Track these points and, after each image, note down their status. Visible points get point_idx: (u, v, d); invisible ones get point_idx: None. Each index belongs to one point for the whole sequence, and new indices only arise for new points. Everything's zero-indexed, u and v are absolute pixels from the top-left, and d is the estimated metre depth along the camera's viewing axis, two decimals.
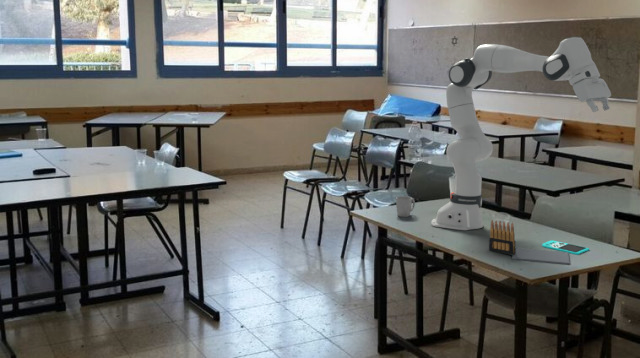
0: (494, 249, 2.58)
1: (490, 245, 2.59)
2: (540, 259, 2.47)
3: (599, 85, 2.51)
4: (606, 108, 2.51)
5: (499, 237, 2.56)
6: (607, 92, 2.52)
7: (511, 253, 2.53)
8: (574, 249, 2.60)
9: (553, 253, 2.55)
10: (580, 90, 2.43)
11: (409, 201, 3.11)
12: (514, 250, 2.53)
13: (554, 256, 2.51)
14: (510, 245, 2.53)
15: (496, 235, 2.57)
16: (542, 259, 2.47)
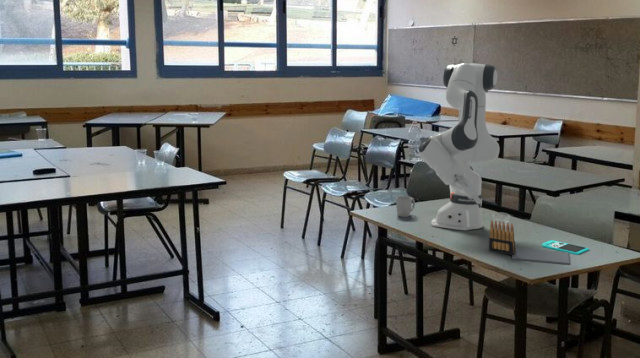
0: (494, 249, 2.58)
1: (490, 245, 2.59)
2: (540, 259, 2.47)
3: (459, 186, 2.48)
4: None
5: (499, 237, 2.56)
6: (466, 194, 2.46)
7: (511, 253, 2.53)
8: (574, 249, 2.60)
9: (553, 253, 2.55)
10: None
11: (409, 201, 3.11)
12: (514, 250, 2.53)
13: (554, 256, 2.51)
14: (510, 245, 2.53)
15: (496, 235, 2.57)
16: (542, 259, 2.47)
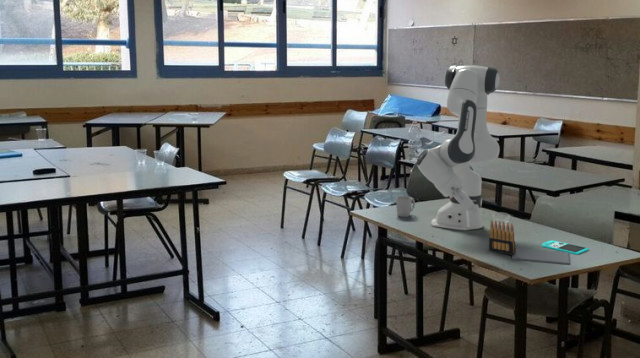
0: (494, 249, 2.58)
1: (490, 245, 2.59)
2: (540, 259, 2.47)
3: None
4: None
5: (499, 237, 2.56)
6: None
7: (511, 253, 2.53)
8: (574, 249, 2.60)
9: (553, 253, 2.55)
10: None
11: (409, 201, 3.11)
12: (514, 250, 2.53)
13: (554, 256, 2.51)
14: (510, 245, 2.53)
15: (496, 235, 2.57)
16: (542, 259, 2.47)
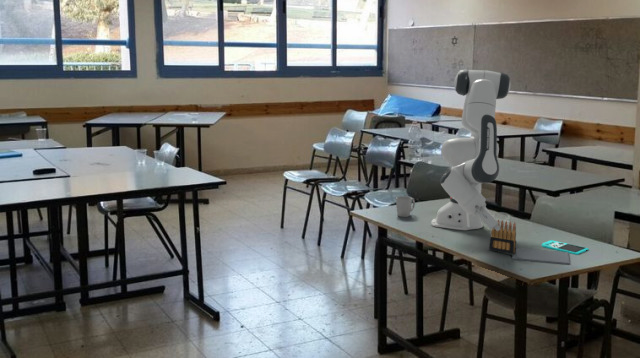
0: (494, 248, 2.58)
1: (490, 244, 2.60)
2: (540, 259, 2.47)
3: None
4: None
5: (500, 236, 2.57)
6: None
7: (511, 252, 2.53)
8: (574, 249, 2.60)
9: (553, 253, 2.55)
10: None
11: (409, 201, 3.11)
12: (514, 250, 2.53)
13: (554, 256, 2.51)
14: (511, 244, 2.53)
15: (497, 234, 2.58)
16: (542, 259, 2.47)
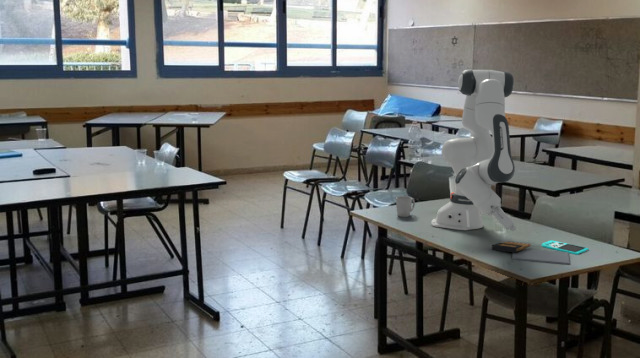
0: (498, 245, 2.60)
1: (496, 244, 2.62)
2: (540, 259, 2.47)
3: None
4: None
5: (510, 244, 2.62)
6: None
7: (515, 247, 2.54)
8: (573, 249, 2.60)
9: (553, 253, 2.55)
10: None
11: (409, 201, 3.11)
12: (517, 250, 2.55)
13: (554, 256, 2.51)
14: (518, 246, 2.56)
15: (508, 243, 2.63)
16: (542, 259, 2.47)
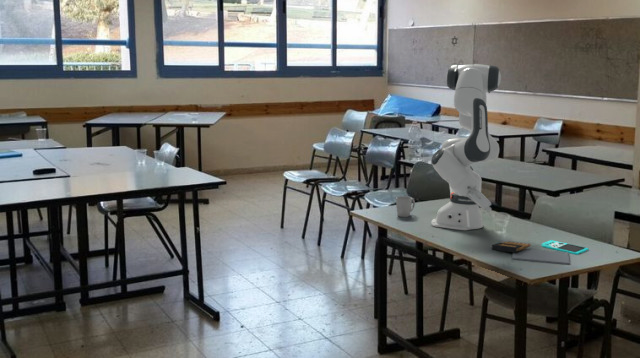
0: (498, 245, 2.60)
1: (496, 244, 2.62)
2: (540, 259, 2.47)
3: None
4: None
5: (510, 244, 2.62)
6: (479, 206, 2.48)
7: (515, 247, 2.54)
8: (573, 249, 2.60)
9: (553, 253, 2.55)
10: None
11: (409, 201, 3.11)
12: (517, 250, 2.55)
13: (554, 256, 2.51)
14: (518, 246, 2.56)
15: (508, 243, 2.63)
16: (542, 259, 2.47)
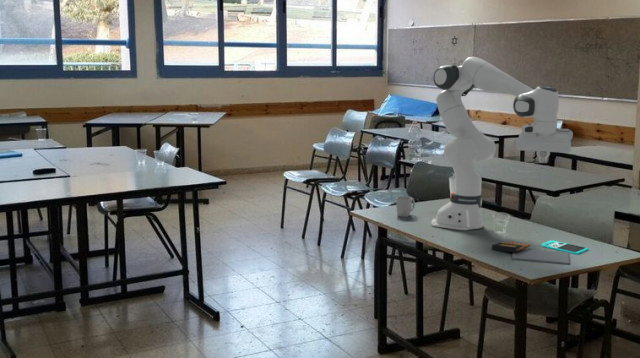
0: (498, 245, 2.60)
1: (496, 244, 2.62)
2: (540, 259, 2.47)
3: (553, 140, 2.63)
4: (542, 161, 2.67)
5: (510, 244, 2.62)
6: (560, 149, 2.62)
7: (515, 247, 2.54)
8: (573, 249, 2.60)
9: (553, 253, 2.55)
10: None
11: (409, 201, 3.11)
12: (517, 250, 2.55)
13: (554, 256, 2.51)
14: (518, 246, 2.56)
15: (508, 243, 2.63)
16: (542, 259, 2.47)
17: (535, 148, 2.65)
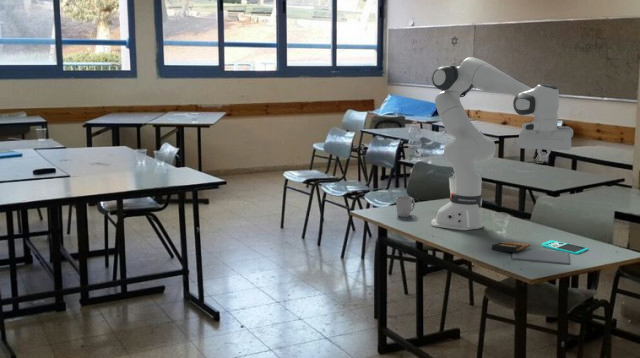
0: (498, 245, 2.60)
1: (496, 244, 2.62)
2: (540, 259, 2.47)
3: (554, 137, 2.63)
4: (543, 159, 2.67)
5: (510, 244, 2.62)
6: (561, 146, 2.63)
7: (515, 247, 2.54)
8: (573, 249, 2.61)
9: (553, 253, 2.55)
10: None
11: (409, 201, 3.11)
12: (517, 250, 2.55)
13: (554, 256, 2.51)
14: (518, 246, 2.56)
15: (508, 243, 2.63)
16: (542, 259, 2.47)
17: (536, 146, 2.66)
